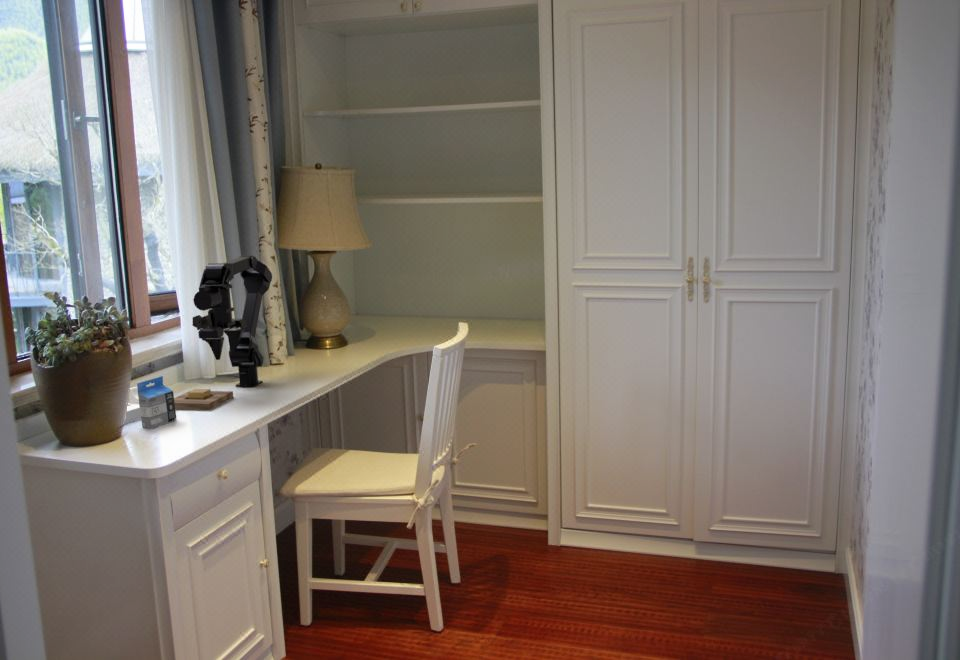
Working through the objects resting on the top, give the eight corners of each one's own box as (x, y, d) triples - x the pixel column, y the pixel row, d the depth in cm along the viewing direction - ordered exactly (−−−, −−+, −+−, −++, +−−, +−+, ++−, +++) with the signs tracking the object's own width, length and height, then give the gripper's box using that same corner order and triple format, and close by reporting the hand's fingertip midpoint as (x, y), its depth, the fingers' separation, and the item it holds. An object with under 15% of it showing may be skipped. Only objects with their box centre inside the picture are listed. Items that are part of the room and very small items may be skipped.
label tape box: (151, 429, 229) (147, 384, 227) (141, 427, 231) (136, 383, 228) (177, 420, 237) (172, 376, 234) (166, 419, 238) (162, 375, 236)
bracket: (138, 412, 248) (135, 386, 246) (156, 414, 244) (153, 388, 243) (99, 424, 236) (96, 397, 235) (117, 427, 233) (114, 400, 232)
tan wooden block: (196, 401, 256) (194, 388, 256) (211, 402, 255) (210, 389, 254) (188, 405, 252) (187, 392, 252) (204, 406, 251) (203, 392, 251)
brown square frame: (191, 396, 262) (190, 390, 262) (233, 397, 259) (232, 391, 259) (165, 409, 249) (164, 402, 248) (209, 410, 246) (208, 403, 245)
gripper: (212, 300, 268) (216, 349, 271) (179, 310, 250) (184, 362, 253) (245, 300, 266) (249, 350, 269) (214, 310, 248) (219, 363, 251)
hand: (225, 356), depth 260 cm, fingers open, 9 cm apart
